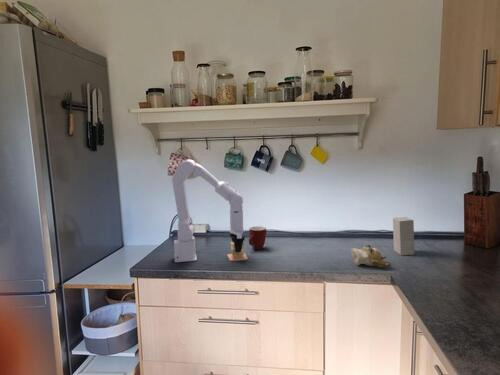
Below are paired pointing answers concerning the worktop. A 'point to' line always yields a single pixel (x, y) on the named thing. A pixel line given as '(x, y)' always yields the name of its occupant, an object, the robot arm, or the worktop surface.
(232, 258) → the coaster
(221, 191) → the robot arm
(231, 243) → the block
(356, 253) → the ceramic sculpture
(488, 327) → the worktop surface
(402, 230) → the skincare box
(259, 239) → the mug
